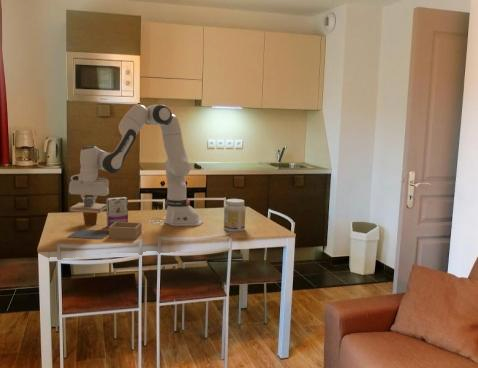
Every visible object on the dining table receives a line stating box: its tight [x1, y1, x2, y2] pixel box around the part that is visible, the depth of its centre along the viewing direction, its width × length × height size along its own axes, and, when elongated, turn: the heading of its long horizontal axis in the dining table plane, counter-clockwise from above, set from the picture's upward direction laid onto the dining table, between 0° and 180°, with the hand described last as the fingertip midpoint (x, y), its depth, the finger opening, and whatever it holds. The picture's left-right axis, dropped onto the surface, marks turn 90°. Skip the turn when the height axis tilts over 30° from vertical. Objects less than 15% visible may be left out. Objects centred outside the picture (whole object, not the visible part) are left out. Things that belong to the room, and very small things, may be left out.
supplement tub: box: [223, 198, 247, 233], centre depth 277 cm, size 12×12×17 cm
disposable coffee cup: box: [82, 202, 99, 227], centre depth 278 cm, size 10×10×12 cm
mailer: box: [108, 221, 143, 240], centre depth 257 cm, size 14×12×6 cm
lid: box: [69, 196, 108, 214], centre depth 255 cm, size 15×13×6 cm
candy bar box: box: [105, 196, 129, 229], centre depth 275 cm, size 11×5×16 cm, turn 118°
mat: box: [67, 228, 109, 240], centre depth 258 cm, size 18×16×1 cm
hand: (89, 203), depth 255 cm, fingers closed on lid, 3 cm apart
